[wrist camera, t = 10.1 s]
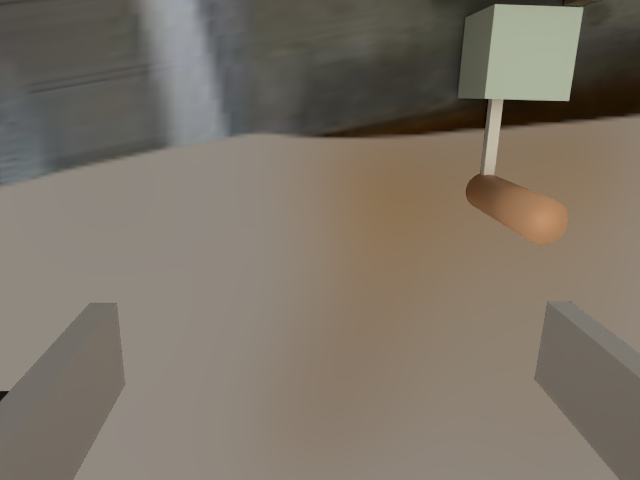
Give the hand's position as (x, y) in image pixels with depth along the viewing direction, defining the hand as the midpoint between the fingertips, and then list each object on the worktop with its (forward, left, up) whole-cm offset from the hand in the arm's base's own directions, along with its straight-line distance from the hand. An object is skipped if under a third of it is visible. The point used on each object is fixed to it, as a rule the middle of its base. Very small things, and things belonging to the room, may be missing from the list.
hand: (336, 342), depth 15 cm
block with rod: (+15, +6, -28) cm, 32 cm away
